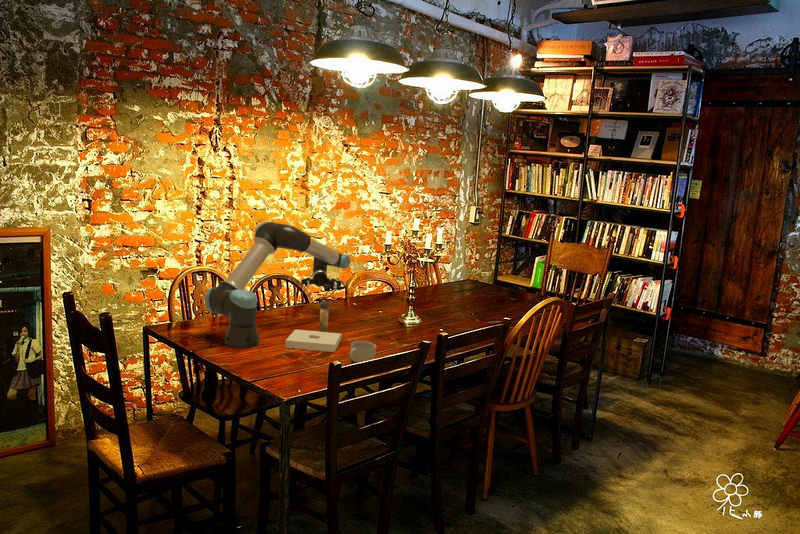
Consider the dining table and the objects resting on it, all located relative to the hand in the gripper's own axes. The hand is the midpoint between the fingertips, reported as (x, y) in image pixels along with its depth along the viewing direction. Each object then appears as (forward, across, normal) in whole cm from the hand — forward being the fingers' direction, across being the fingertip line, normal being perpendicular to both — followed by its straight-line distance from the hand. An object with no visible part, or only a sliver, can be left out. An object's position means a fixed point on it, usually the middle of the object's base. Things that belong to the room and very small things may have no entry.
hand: (322, 286), depth 310 cm
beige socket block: (+27, +4, -22) cm, 35 cm away
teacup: (+52, -15, -22) cm, 58 cm away
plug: (+10, -1, -22) cm, 24 cm away
